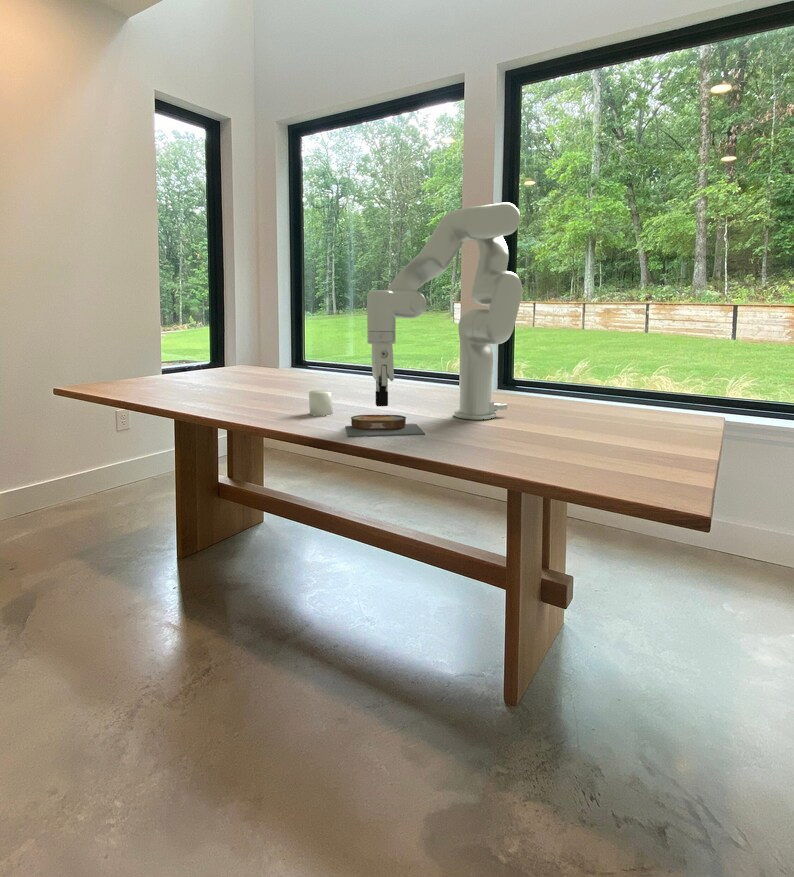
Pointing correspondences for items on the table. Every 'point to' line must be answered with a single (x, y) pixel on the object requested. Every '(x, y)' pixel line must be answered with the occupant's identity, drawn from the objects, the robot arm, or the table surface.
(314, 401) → the white rounded cube
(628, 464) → the table surface
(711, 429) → the table surface
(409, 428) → the mat
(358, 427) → the tin
